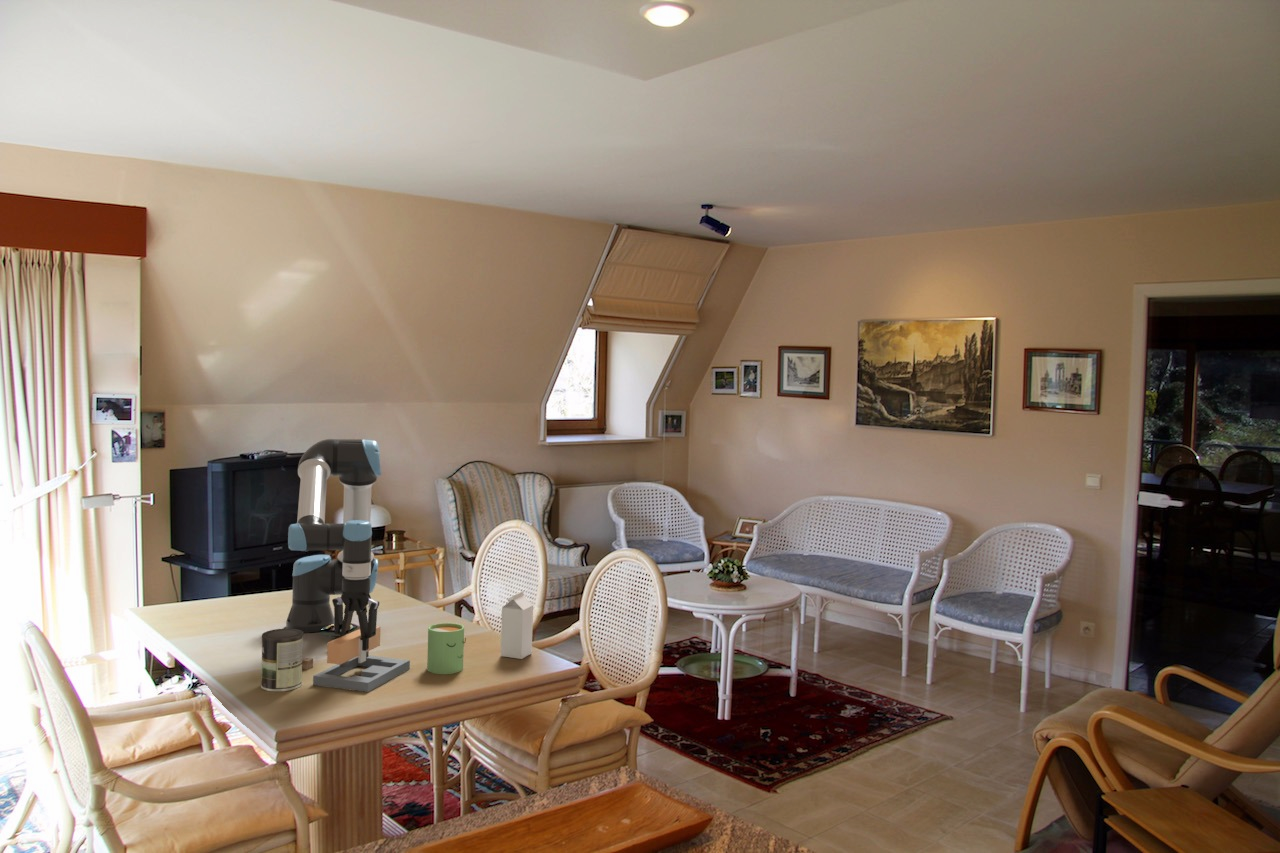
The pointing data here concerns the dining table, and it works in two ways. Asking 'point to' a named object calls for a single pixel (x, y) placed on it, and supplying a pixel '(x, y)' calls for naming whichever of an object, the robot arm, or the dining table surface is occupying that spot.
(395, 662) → the board with u-shaped cutout
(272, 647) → the coffee can
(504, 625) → the milk carton
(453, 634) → the mug
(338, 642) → the strip
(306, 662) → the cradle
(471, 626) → the dining table surface
